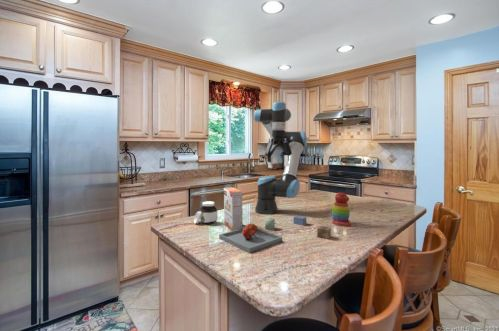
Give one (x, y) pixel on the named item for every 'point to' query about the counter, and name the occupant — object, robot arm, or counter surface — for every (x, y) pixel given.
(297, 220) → the lavender blue block
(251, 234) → the pomegranate
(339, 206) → the stacking bear
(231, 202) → the cracker box
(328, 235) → the walnut block
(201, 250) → the counter surface
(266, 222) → the sage block
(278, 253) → the counter surface
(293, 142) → the robot arm
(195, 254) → the counter surface
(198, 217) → the spread jar
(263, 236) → the tray
